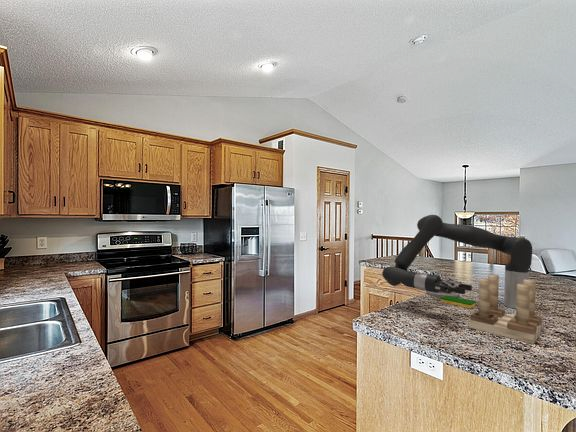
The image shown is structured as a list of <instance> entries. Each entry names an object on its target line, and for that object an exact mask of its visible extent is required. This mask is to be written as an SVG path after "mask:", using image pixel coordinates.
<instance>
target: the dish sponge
mask: <svg viewBox="0 0 576 432" xmlns="http://www.w3.org/2000/svg"><path fill="white" fill-rule="evenodd" d="M440 302H442V303H445V304H450V305H454V306H459V307H462V308H463V307H464V308H468V309H472V308H475V307H476V301H475V300H471V299H465V298H462V297H461V298H460V297H452V296H447V295H446V296H444V297H440Z"/></svg>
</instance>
